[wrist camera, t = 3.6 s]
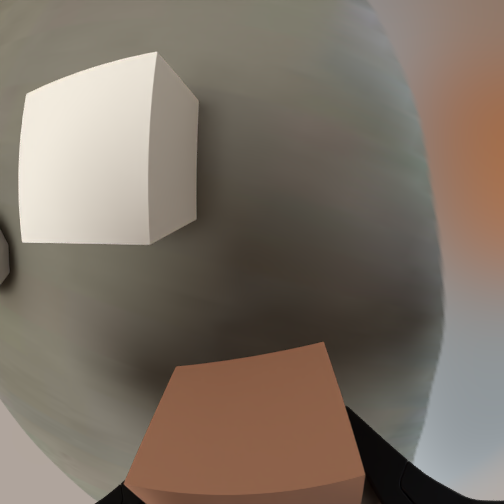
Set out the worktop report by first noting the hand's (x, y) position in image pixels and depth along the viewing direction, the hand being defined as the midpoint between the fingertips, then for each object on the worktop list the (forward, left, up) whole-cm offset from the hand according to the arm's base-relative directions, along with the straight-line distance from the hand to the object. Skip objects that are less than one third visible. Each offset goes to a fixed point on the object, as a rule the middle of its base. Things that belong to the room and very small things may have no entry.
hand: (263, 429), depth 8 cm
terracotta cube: (0, 0, -1) cm, 1 cm away
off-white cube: (+10, +3, -5) cm, 11 cm away
